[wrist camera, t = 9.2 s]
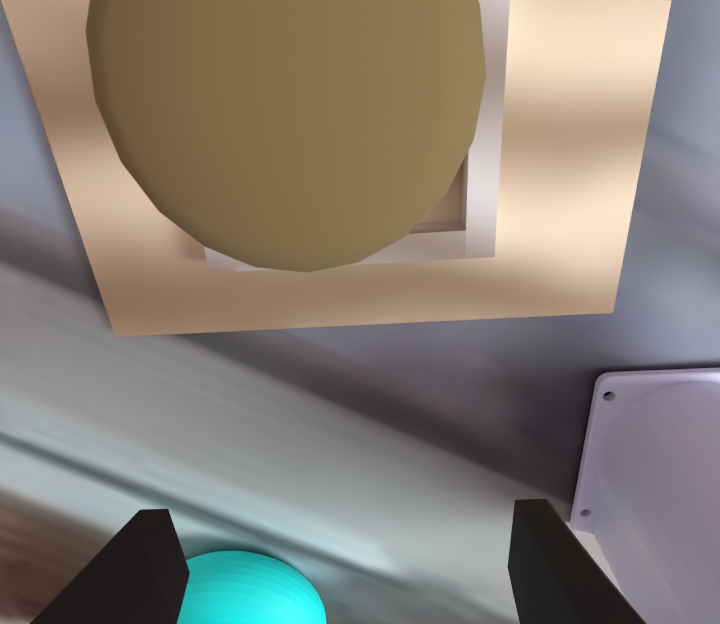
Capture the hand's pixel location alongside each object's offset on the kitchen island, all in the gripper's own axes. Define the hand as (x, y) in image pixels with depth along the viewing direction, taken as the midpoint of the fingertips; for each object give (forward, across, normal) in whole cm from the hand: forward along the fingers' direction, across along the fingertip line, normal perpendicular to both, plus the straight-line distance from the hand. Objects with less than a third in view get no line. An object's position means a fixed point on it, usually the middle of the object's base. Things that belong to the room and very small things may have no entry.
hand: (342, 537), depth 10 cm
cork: (+10, 0, -8) cm, 13 cm away
